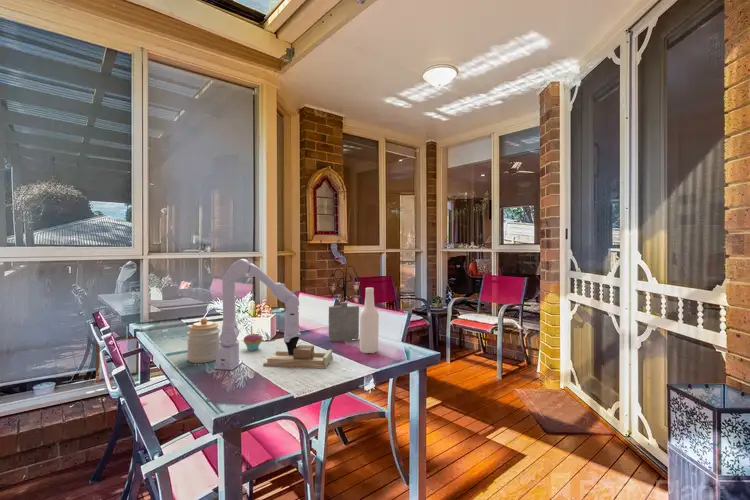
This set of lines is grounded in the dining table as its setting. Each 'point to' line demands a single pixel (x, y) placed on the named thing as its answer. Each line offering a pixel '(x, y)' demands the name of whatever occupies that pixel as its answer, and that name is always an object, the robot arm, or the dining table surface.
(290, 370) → the dining table surface
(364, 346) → the alcohol
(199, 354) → the jar
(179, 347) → the dining table surface
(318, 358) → the bay
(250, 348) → the cupcake
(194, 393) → the dining table surface
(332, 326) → the hip flask
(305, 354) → the block
